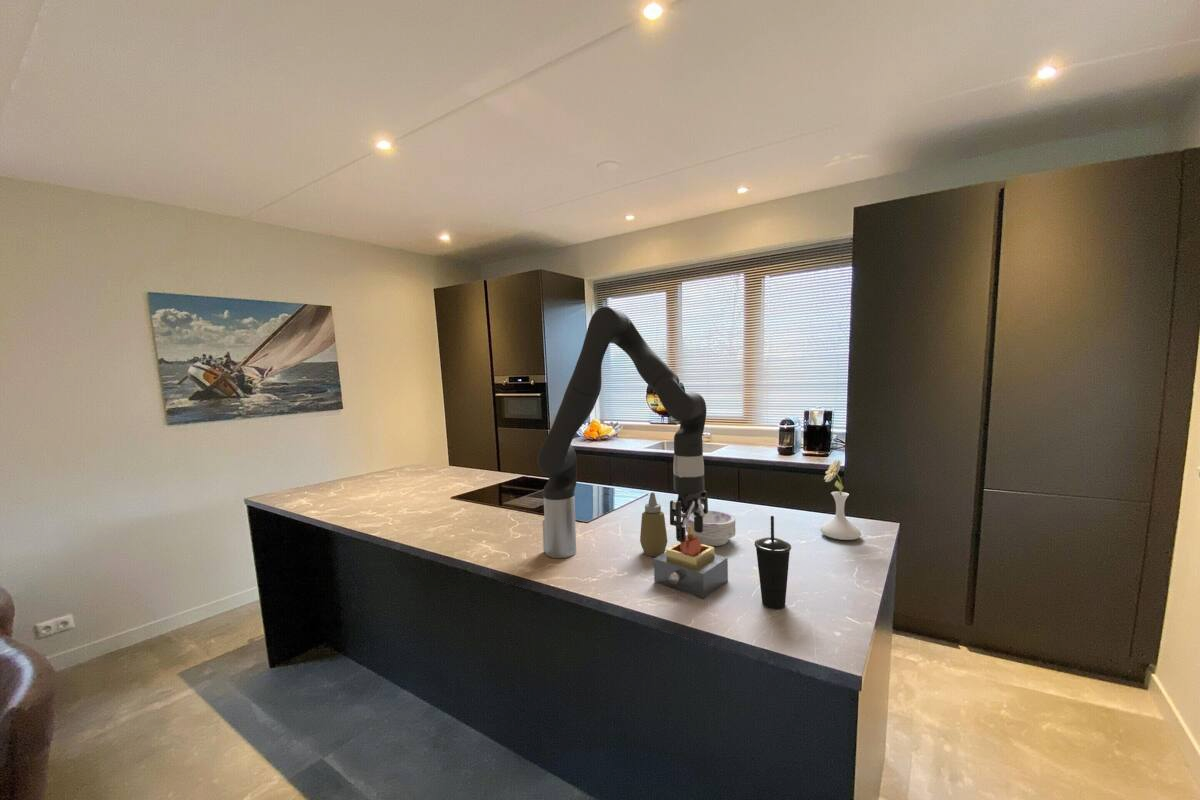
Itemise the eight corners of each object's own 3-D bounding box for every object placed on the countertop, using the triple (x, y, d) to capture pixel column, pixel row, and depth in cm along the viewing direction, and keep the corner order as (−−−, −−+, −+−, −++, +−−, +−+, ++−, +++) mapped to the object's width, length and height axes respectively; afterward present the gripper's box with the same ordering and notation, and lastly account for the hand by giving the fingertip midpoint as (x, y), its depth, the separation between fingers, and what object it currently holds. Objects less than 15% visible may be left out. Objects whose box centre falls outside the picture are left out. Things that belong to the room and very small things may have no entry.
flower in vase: (823, 528, 147) (822, 453, 146) (863, 534, 140) (862, 456, 139) (815, 540, 136) (815, 460, 135) (858, 548, 130) (858, 463, 128)
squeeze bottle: (667, 559, 126) (665, 496, 125) (638, 557, 127) (637, 496, 127) (668, 548, 134) (667, 489, 133) (641, 547, 135) (640, 489, 134)
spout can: (676, 578, 111) (676, 527, 111) (687, 571, 115) (686, 522, 115) (694, 583, 108) (693, 531, 108) (704, 577, 112) (704, 526, 111)
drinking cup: (749, 596, 103) (748, 512, 102) (781, 594, 104) (780, 510, 103) (764, 614, 95) (763, 522, 94) (798, 611, 96) (797, 520, 95)
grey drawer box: (649, 584, 111) (648, 551, 110) (680, 566, 121) (679, 535, 120) (699, 602, 101) (698, 566, 101) (727, 581, 111) (727, 547, 111)
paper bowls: (741, 537, 141) (741, 512, 141) (727, 553, 128) (727, 526, 128) (695, 529, 149) (695, 506, 149) (678, 544, 137) (677, 519, 136)
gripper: (690, 466, 118) (692, 526, 119) (659, 475, 108) (661, 541, 108) (716, 469, 113) (717, 532, 114) (686, 479, 103) (687, 548, 103)
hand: (690, 536), depth 111 cm, fingers open, 8 cm apart
